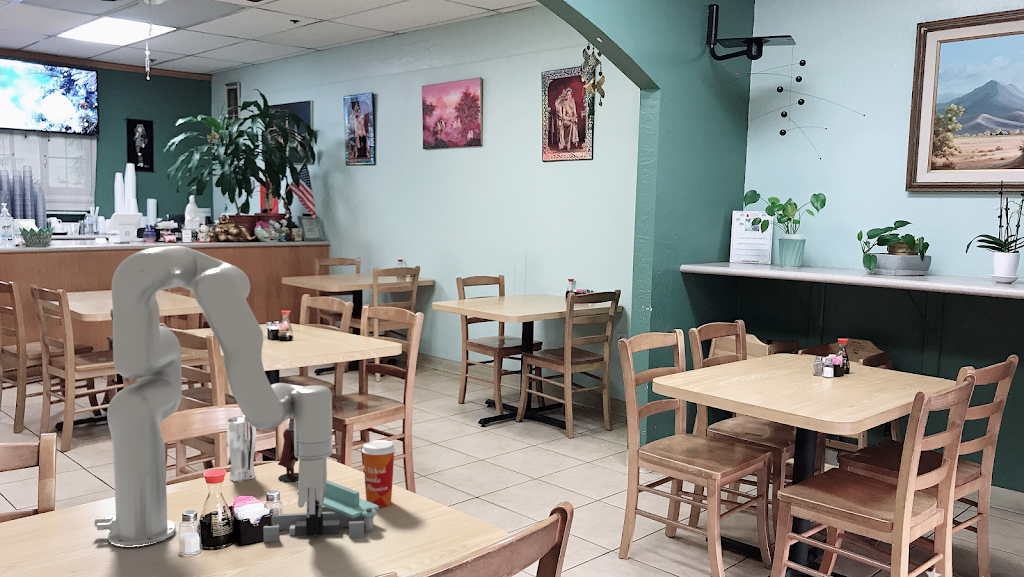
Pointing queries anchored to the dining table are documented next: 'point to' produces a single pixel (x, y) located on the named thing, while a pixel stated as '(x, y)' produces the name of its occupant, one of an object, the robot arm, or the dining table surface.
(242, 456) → the beer glass
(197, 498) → the dining table surface
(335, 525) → the usb flash drive
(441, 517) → the dining table surface
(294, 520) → the grey frame
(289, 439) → the figurine
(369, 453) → the paper cup
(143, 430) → the robot arm
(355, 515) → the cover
